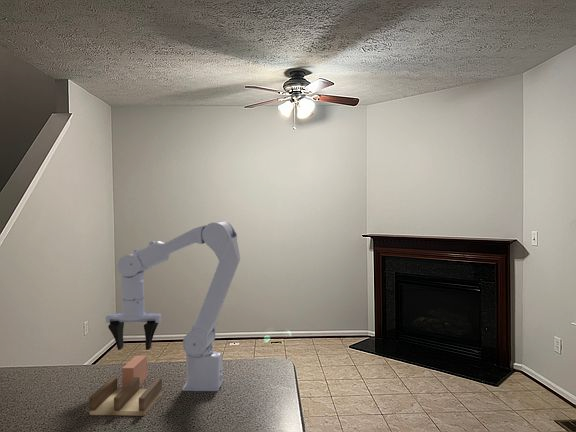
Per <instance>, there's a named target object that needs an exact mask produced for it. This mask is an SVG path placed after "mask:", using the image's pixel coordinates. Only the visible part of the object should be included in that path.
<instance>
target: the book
mask: <svg viewBox="0 0 576 432" xmlns="http://www.w3.org/2000/svg"><path fill="white" fill-rule="evenodd" d="M121 375H122V382H121V383H122V389H123V388H124V387H126V386H127V385H128V384H129V383H130V382H131V381H132V380H133V379H134V378H135V377H139V379H140V385H141V384H142V383H143V382H144V381H145V380H146V379H147V377H148V356H147V355H135V356H134V357H133V358H132V359H131V360H130V361H128V362H127V363H126V364H125V365H123V367H122V368H121Z"/></svg>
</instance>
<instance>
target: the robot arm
mask: <svg viewBox="0 0 576 432" xmlns="http://www.w3.org/2000/svg"><path fill="white" fill-rule="evenodd" d="M193 244H199V245H203V244H205V245H206V246H207V247H208V248H209V249H211V250H212V251H213V253H214V254H215V255H216V257H217V259H218V264H217V267H216V269H215V272H214V274H213V278H212V279H211V282H210V285H209V287H208V290H207V292H206V295H205V298H204V301H203V303H202V306H201V308H200V311H199V313H198V316H197V317H196V319H195V321H194V323H193V325H192V326H191V329H190V331H189V332H188V333H187V334H186V335H184V337H183V340H182V348H183V351H185V365H186V369H185V370H186V371H185V372H186V382H185V384H184V385H183V387H182V389H181V390H182V391H183V392H188V391H189V392H219V390H220V389H221V386H222V384H223V382H224V364H223V363H224V361H223V353H222V352H218V351H214V350H215V349H214V347H213V345H212V344H213V343H214V342H215V340H216V327H217V324H218V321H217V320H218V317H219V315H220V312H221V310H222V307H223V304H224V302H225V299H226V297H227V295H228V292H229V289H230V287H231V285H232V282H233V279H234V276H235V273H236V272H237V268H238V265H239V264H240V261H241V256H240V249H239V242H238V233H237V231H235V229H234V227H233V226H232V224H231V223H230V222H228V221H225V220H220V221H217V222H210V223H208V224H206V225H205V224H204V225H201V226H198V227H195V228H192V229H190V230H188V231H185V232H184V233H182V234H180V235H177V236H176V237H173V238H171V239H170V240H169V241H166V242H164V241H161V240H157V241H155V240H152V241H150V242H148V245H146V246H143V247H142V248H140V249H139V248H136V249H133V253H130V254H124V255H122V257H120V258H119V259H118V261H117V264H116V267H117V268H116V269H117V272H118V273H119V274H120V276H121V277H120V278H121V307H122V308H121V311H122V312H121V313H120V312H119V313H107V314H106V315H105V323H106V324H108V325H107V328H108V330H109V331H110V332H111V334H112V336H113V338H114V341H115V344H116V347H117V350H118V351H120V350H122V349H123V348H124V327H125V323H145V324H143V329H144V337H145V350H146V351H149V350H150V349H151V348H152V343H153V338H154V334H155V333H156V330H157V327H158V325H159V323H161V322H162V313H152V312H151V313H150V312H145V309H146V308H145V280H144V279H145V278H144V275H145V274H144V273H145V271H147V270H149V269H152V268H153V267H155V266H158V265H161V264H162V263H164V262H166V261H169V258H170V256H171V254H172V253H174V252H177V251H179V250H181V249H184V248H186V247H189V246H190V245H191V246H192V245H193Z"/></svg>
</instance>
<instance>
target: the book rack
mask: <svg viewBox="0 0 576 432" xmlns="http://www.w3.org/2000/svg"><path fill="white" fill-rule="evenodd" d="M162 379H163V378H162V377H156V378H155V379H154V381H153V382H152V383H151V384H150V385H149V386H148V387H147V388H141V387H140V386H141V384H140V379H139V377H135V378H134V379H133V380H132V381H131V382H130V383H129V384H128V385H127V386H126V387H124V388H123V387H122V388H119V386H118V376H112V377H111V378H110V379H109V380H107V381H106V382H105V383H104V384H103V385H102V386H101V387H99V388H98V389H97V390H96V391H95V392H93V394H92V395H90V396H89V398H88V401H89V403H88V404H89V405H88V406H89V416H135V417H136V416H142V417H143V416H146V414H147V413H148V412H149V410H150V409H151V408H152V407H153V405H154V404H155V403H156V402H157V401H158V398H159V397H160V396H161V395H162V394H163V380H162Z"/></svg>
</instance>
